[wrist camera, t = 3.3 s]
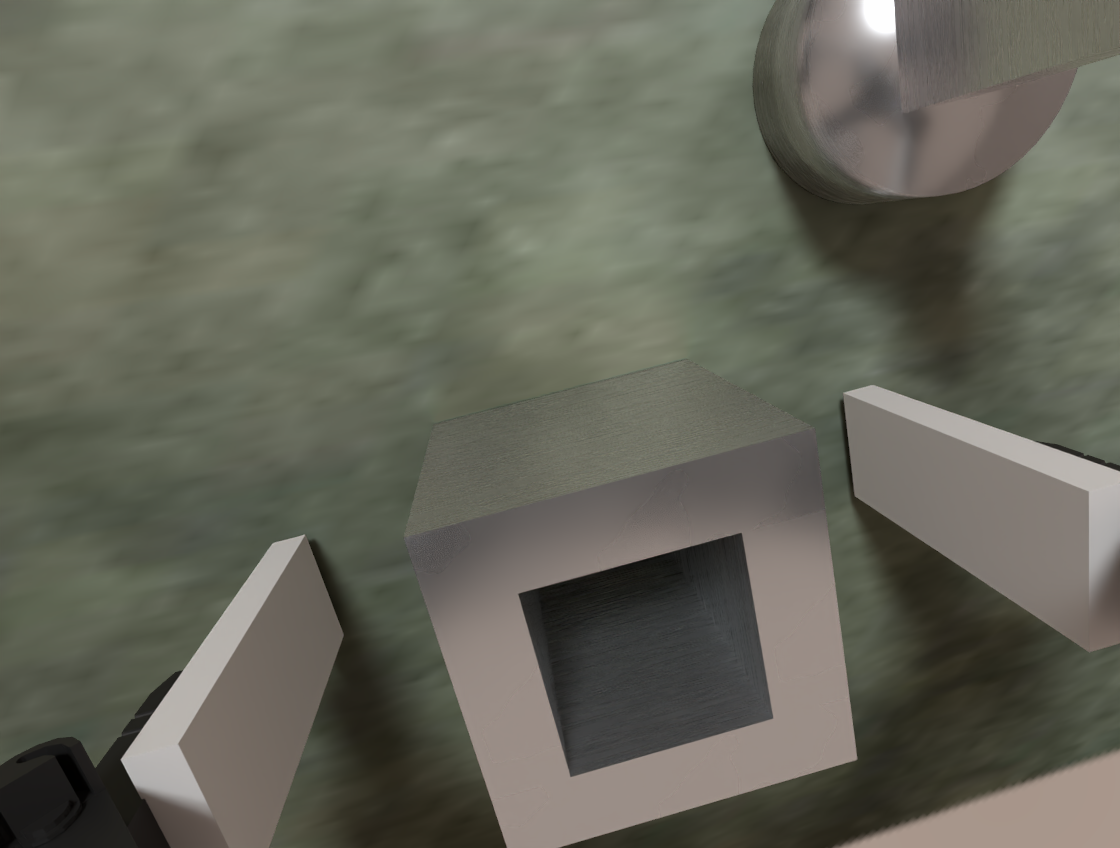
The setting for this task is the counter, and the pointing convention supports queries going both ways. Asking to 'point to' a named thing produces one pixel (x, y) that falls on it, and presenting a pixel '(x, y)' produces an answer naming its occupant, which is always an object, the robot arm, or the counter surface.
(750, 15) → the counter surface
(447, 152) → the counter surface
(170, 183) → the counter surface
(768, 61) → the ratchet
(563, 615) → the socket
